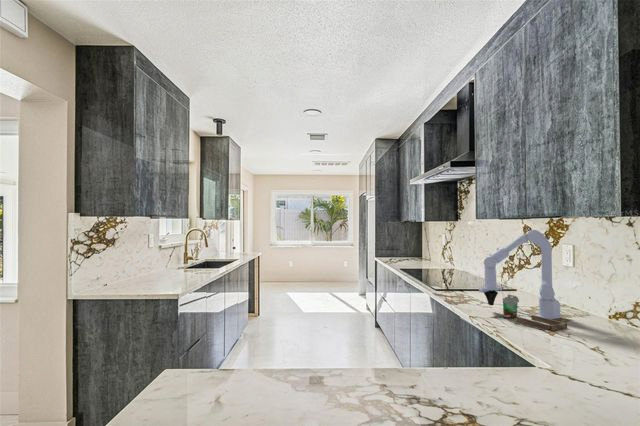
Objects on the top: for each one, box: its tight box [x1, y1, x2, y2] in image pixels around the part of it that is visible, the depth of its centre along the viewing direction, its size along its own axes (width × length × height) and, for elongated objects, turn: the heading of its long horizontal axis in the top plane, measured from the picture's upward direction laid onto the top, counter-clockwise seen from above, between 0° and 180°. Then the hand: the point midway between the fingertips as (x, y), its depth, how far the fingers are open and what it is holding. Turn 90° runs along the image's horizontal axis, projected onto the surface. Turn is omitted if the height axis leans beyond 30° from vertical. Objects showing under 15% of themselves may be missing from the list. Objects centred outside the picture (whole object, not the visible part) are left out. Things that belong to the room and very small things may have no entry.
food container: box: [502, 294, 520, 320], centre depth 190 cm, size 12×6×10 cm, turn 143°
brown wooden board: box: [516, 314, 568, 331], centre depth 176 cm, size 11×17×2 cm, turn 23°
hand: (490, 305), depth 202 cm, fingers closed
